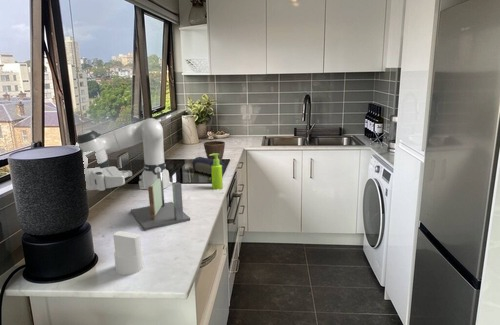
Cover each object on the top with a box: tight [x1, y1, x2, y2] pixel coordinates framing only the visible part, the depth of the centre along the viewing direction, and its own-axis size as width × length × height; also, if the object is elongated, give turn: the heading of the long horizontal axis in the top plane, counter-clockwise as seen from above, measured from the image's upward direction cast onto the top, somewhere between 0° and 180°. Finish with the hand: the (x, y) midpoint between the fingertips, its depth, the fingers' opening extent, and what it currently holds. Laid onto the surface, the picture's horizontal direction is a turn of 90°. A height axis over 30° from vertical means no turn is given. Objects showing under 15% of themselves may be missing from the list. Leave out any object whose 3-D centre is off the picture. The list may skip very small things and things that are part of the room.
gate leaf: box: [147, 179, 162, 219], centre depth 163 cm, size 16×2×14 cm, turn 0°
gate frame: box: [130, 171, 191, 231], centre depth 163 cm, size 25×20×18 cm
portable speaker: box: [192, 156, 227, 176], centre depth 235 cm, size 25×10×10 cm, turn 50°
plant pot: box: [203, 140, 226, 162], centre depth 257 cm, size 15×15×16 cm
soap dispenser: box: [209, 153, 224, 190], centre depth 203 cm, size 6×7×20 cm
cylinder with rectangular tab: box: [112, 230, 145, 276], centre depth 119 cm, size 9×9×12 cm
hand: (131, 173), depth 154 cm, fingers closed
